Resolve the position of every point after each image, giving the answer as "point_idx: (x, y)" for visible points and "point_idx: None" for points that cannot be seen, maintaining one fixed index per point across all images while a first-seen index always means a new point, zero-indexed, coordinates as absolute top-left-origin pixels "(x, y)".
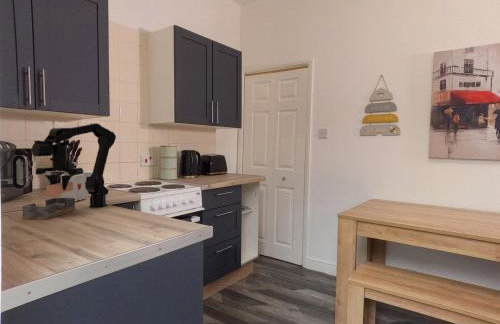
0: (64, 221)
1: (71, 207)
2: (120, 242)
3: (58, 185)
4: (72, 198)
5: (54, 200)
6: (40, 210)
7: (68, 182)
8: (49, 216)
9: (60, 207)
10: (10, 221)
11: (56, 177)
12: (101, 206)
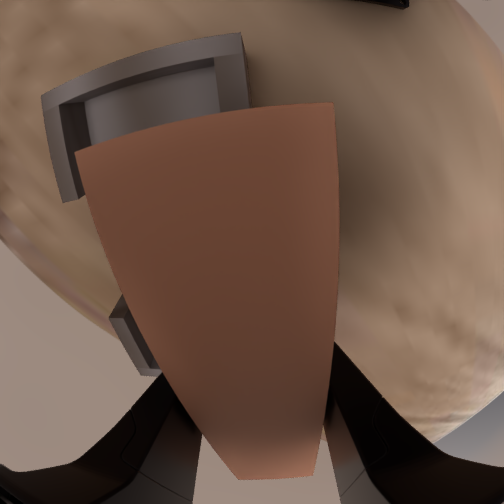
0: (371, 330)
1: (250, 98)
2: (498, 382)
3: (315, 453)
4: (235, 61)
5: (71, 112)
6: None
7: (302, 281)
8: None
9: None
10: None
11: (135, 493)
12: (408, 6)
